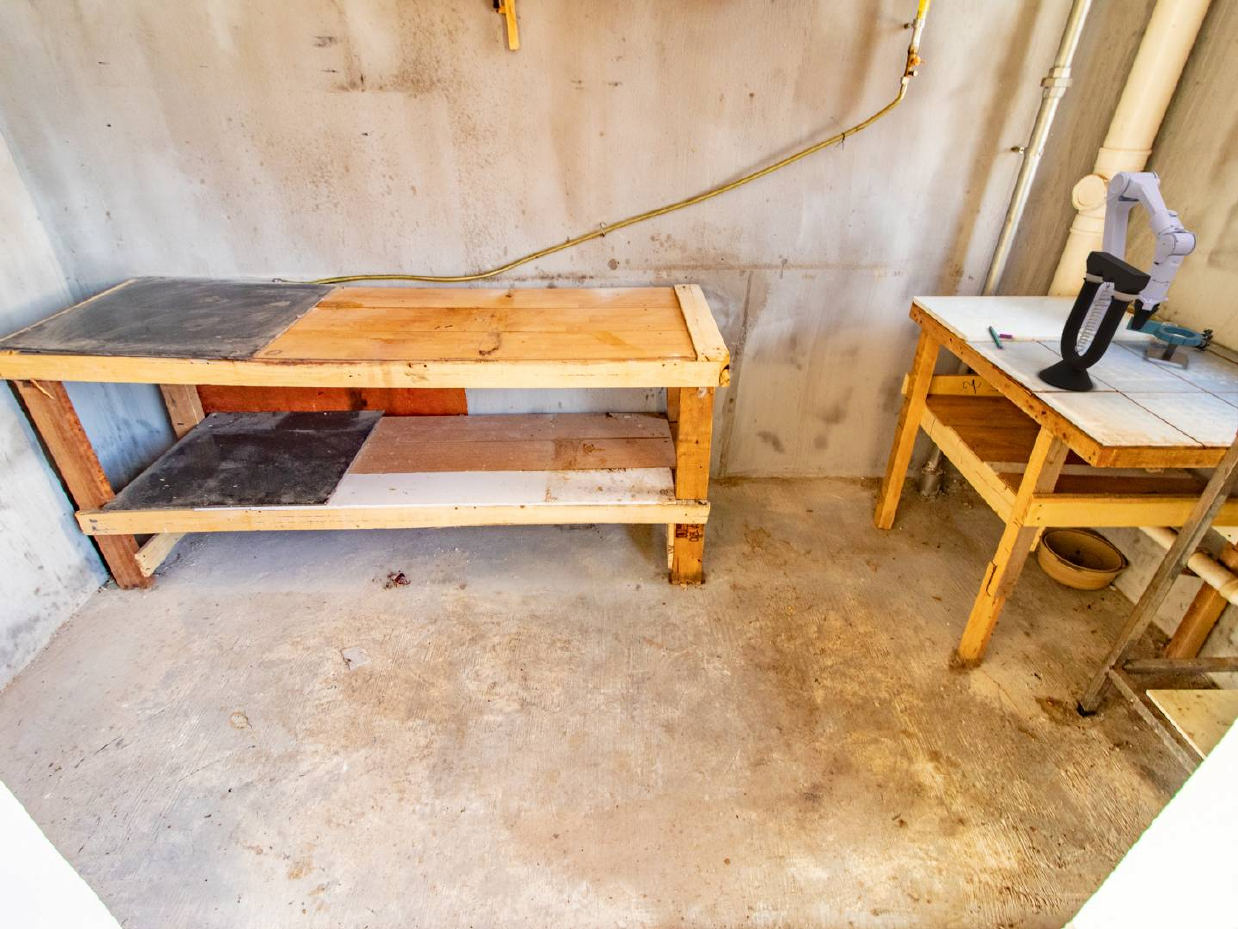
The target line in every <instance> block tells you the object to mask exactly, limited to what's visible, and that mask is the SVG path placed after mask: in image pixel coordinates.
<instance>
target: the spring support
mask: <svg viewBox="0 0 1238 929" xmlns="http://www.w3.org/2000/svg"><path fill="white" fill-rule="evenodd" d="M1085 263H1086V264H1085V267H1086V271H1085V277H1082V279H1083V283H1082V286H1081V287H1080V290H1079V292H1078V294H1077V296H1076V299H1075V301H1074V303H1073V305H1072V308H1071V310H1070V313H1069V315H1068V317H1067V319H1066V321H1065V323H1064V326H1063V329H1062V332H1061V336H1060V355H1061V358H1062V359H1061V360H1059V361H1057V362H1055V363H1054V364H1052V365H1050V366H1048V367H1046V368H1045V369H1042V370H1041V371H1039V377H1040V378H1041V379H1042V380H1044V381H1045V382H1047V383H1049V384H1052V385H1054V386H1055V387H1060V388H1063V389H1065V390H1066V389H1067V390H1072V391H1090V390H1092V389H1093V388H1094V384H1093V382H1092V379H1091V377H1090V374H1089V372H1088V369H1090V368H1091V367H1093V366H1094V365H1096V364H1097V363H1098V362H1099V361H1100V360H1101V359H1102V358H1103V357H1104V355H1105V353H1106V352H1107V350H1108V348H1109V346H1110V344H1111V343H1112V340H1113V338H1114V336H1115V334H1116V333H1117V331H1118V328H1119V326H1120V325H1121V322H1122V320H1123V318H1124V316H1125V314H1126V312H1127V310H1128V308H1129V306H1130V304H1131V303H1132V302H1134V300H1135V299H1137V298H1138V297H1137V296H1138V295H1140V293H1139V292H1141V291H1142V290H1144V289H1145V288H1146V286H1147V284H1148V282H1149V280H1150V278H1151V276H1149V275H1148V273H1146V272H1144V271H1142V270H1140V269H1139V268H1137V267H1135V266H1133V265H1131V264H1130V263H1127V262H1126V261H1125V260H1124V261H1122V260H1120V259H1119V258H1117V257H1115V256H1113V255H1111V254H1110V253H1108V252H1102V251H1096V250H1092V251H1090V252H1089V253H1088V256H1087V257H1086V260H1085ZM1104 282H1109V283H1114V295H1112V296H1111V299H1112V300H1111V302H1110V305H1109V307H1108V309H1107V311H1106V313H1105V315H1104V317H1103V319H1102V322H1101V324H1100V326H1099V328H1098V330H1097V331H1095V335H1094V336H1093V338H1092V341H1091V342H1090V345H1089V347H1087V350H1086V351H1085V352H1084V353H1083V354H1082V355H1080V354H1079V352H1083V351H1084V348H1086V346H1085V345H1087V342H1089V338H1091V337H1090V335H1092V332H1094V331H1093V330H1092V329H1088V328H1086V327H1092V328H1094V326H1091V325H1088V323H1091V324H1096V323H1094V322H1091V321H1089V320H1094V321H1098V320H1097V319H1093V318H1091V317H1098V318H1099V316H1097V315H1093V313H1097V314H1101V313H1100V312H1096V311H1094V310H1100V311H1102V310H1103V309H1099V308H1097V307H1096V306H1100V307H1104V306H1103V305H1099V304H1098V303H1104V304H1106V302H1102V301H1100V300H1099V299H1104V300H1108V299H1107V298H1103V297H1101V296H1108V297H1109V295H1106V294H1103V293H1102V292H1108V293H1111V292H1110V291H1108V290H1107V288H1108V289H1109V287H1110V284H1109V285H1107V283H1106V289H1105V290H1106V291H1101V292H1100V293H1101V295H1099V298H1098V299H1097V301H1098V302H1096V305H1095V306H1094V309H1092V311H1093V312H1091V316H1089V318H1090V319H1088V322H1087V323H1086V325H1087V326H1085V327H1084V328H1085V329H1084V328H1081V326H1082V324H1083V322H1084V319H1085V317H1086V315H1087V313H1088V311H1089V309H1090V306H1091V304H1092V302H1093V300H1094V298H1095V296H1096V293H1097V291H1098V289H1099V287H1100V286H1101V285H1102V284H1103V283H1104ZM1081 329H1083V330H1082V332H1081V335H1080V336H1079V333H1080V330H1081ZM1078 337H1079V338H1078ZM1081 344H1082V345H1081ZM1078 347H1080V348H1081V349H1078Z"/></svg>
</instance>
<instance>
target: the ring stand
mask: <svg viewBox="0 0 1238 929" xmlns="http://www.w3.org/2000/svg"><path fill="white" fill-rule="evenodd" d="M1178 347H1179V345H1177V344H1172V343H1169V344H1167V345H1166V348H1165V349H1162V348H1157V347H1152V346H1148V348H1147V353H1146V358H1150V359H1155V360H1159V361H1162V362H1163V361H1165V362H1168V363H1173V364H1177V365H1181V366H1182V365H1183V366H1186V367H1187V366H1188V354H1186V353H1181V352H1176V350H1177V348H1178Z"/></svg>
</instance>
